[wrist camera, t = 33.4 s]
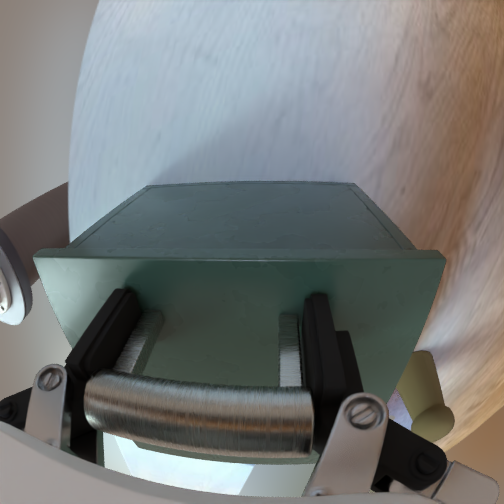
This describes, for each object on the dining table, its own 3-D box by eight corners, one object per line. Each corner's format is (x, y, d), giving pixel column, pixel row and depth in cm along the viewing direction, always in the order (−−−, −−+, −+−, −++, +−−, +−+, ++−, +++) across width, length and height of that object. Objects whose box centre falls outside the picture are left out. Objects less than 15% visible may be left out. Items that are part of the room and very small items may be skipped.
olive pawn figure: (412, 384, 32) (432, 449, 22) (381, 378, 31) (400, 451, 22) (440, 354, 29) (470, 422, 20) (411, 346, 29) (441, 423, 19)
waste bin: (145, 185, 22) (46, 263, 11) (354, 183, 21) (433, 267, 10) (176, 338, 30) (140, 439, 19) (332, 342, 29) (350, 451, 17)
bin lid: (41, 247, 11) (-45, 328, 5) (437, 249, 9) (526, 361, 4) (140, 440, 19) (122, 500, 13) (350, 451, 17) (356, 517, 12)
